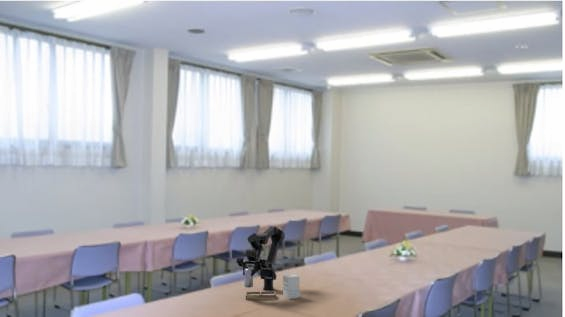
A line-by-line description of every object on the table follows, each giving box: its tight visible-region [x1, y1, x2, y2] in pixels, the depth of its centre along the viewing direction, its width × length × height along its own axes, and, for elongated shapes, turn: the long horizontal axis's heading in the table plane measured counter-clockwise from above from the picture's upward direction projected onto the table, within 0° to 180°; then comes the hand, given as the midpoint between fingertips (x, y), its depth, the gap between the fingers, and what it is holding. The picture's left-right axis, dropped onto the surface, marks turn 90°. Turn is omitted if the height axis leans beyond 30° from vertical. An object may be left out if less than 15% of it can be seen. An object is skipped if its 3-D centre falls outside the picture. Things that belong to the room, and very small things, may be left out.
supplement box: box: [282, 273, 300, 300], centre depth 296 cm, size 7×7×13 cm
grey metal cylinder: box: [244, 267, 254, 288], centre depth 292 cm, size 5×5×10 cm
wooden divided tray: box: [245, 290, 277, 301], centre depth 294 cm, size 9×17×2 cm, turn 94°
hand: (247, 275), depth 291 cm, fingers closed on grey metal cylinder, 5 cm apart
